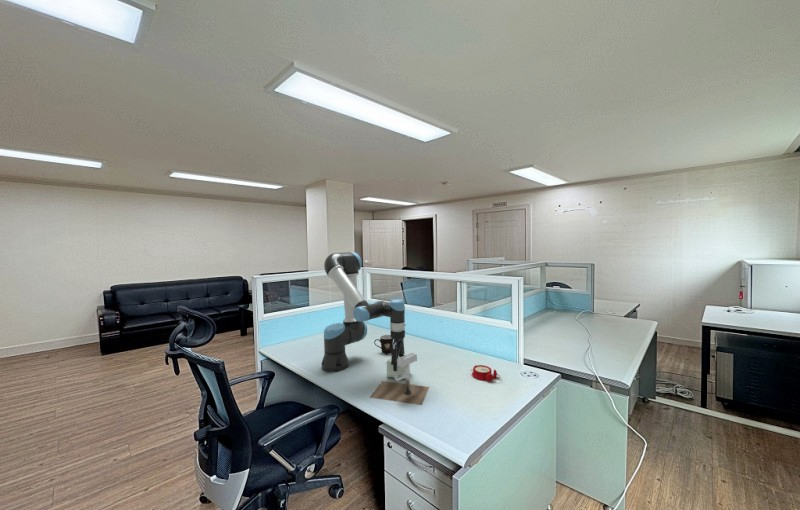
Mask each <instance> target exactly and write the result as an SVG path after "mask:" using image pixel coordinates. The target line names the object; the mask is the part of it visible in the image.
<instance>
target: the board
mask: <svg viewBox="0 0 800 510" xmlns="http://www.w3.org/2000/svg"><path fill="white" fill-rule="evenodd" d="M429 389H430V386H425V385H417V384H410V392H406V383H404V382H403V383H401V382H393V381H387V380H381V382H380V383H379V384H378V385H377V387H376V388H375V390H374V391H373V392H372V393H371V395H370V396H369V398H370V399H371V398H372V399H377V400H378V399H379V400H385V401H390V402H391V401H393V402H397V403H398V402H399V403H405V404H412V405H419V406H422V405H423V403H424V401H425V398H426V395H427V394H428V391H429Z"/></svg>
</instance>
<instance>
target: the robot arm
mask: <svg viewBox="0 0 800 510" xmlns="http://www.w3.org/2000/svg"><path fill="white" fill-rule="evenodd" d="M362 264H363V262H362V258H361V257H360V255H359V254H358V253H357V252H351V251H347V252H344V251H343V252H334V253H331V254H329V255H328V256H327V257H326V258H325V261H324V264H323V266H324V267H323V268H324V271H325V273H326V275H327V277H328V278H329V279H332V281H333V282H334V284H335V285H336V286H337V287H338V289H339V291H340V292H341V293H342V295H343V305H344V307H343V309H344V319H343V320H342V323H341V322H337V323H332V324H329V325H327V326H326V327H325V328H324V330H323V349H324V350H323V351H324V354H323V358H322V361H321V369H322V370H323V371H324V372H329V371H335V372H340V371H344V370H346V369H347V368H348V367H349V366H350V365H349V358H348V356H347V354H346V346H348V345H350V344H351V345H352V344H354V343H359V342H360V341H363V340H364V339H365V338H366V337H367V334H368V327H367V326H368V325H367V324H366V322H368V321H369V320H372V319H377V318H381V317H387V318H389V319H390V320H389V321H390V322H389V323H390V324H389V325H390V326H389V327H390V335H391V338H392V339H393V344H392V353H391V356H392V357H391V356H390V357H391V365H393V377H392V378H394V377H396V376H399V374H398V365H397V359H398V356H400V357H403V356H405V343H404V341H405V340H404V339H405V337H406V330H405V329H406V325H407V324H406V321H405V320H406V319H405V318H406V317H405V316H406V315H405V314H406V313H405V312H406V310H405V309H406V307H405V301H404V300H403V299H398V298H397V299H391V300H390V301H389V302H388V301H385V300H377V301H374V303H372V304H369V302H367V300H366V299H365V298H364V296H363V295H362V294H361V292H360V290H359V289H358V283H357V281H358V280H357V277H358V275H359V273H360V272H359V271H360V270H361V268H362ZM348 365H349V366H348ZM345 368H346V369H345ZM339 370H340V371H339Z"/></svg>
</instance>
